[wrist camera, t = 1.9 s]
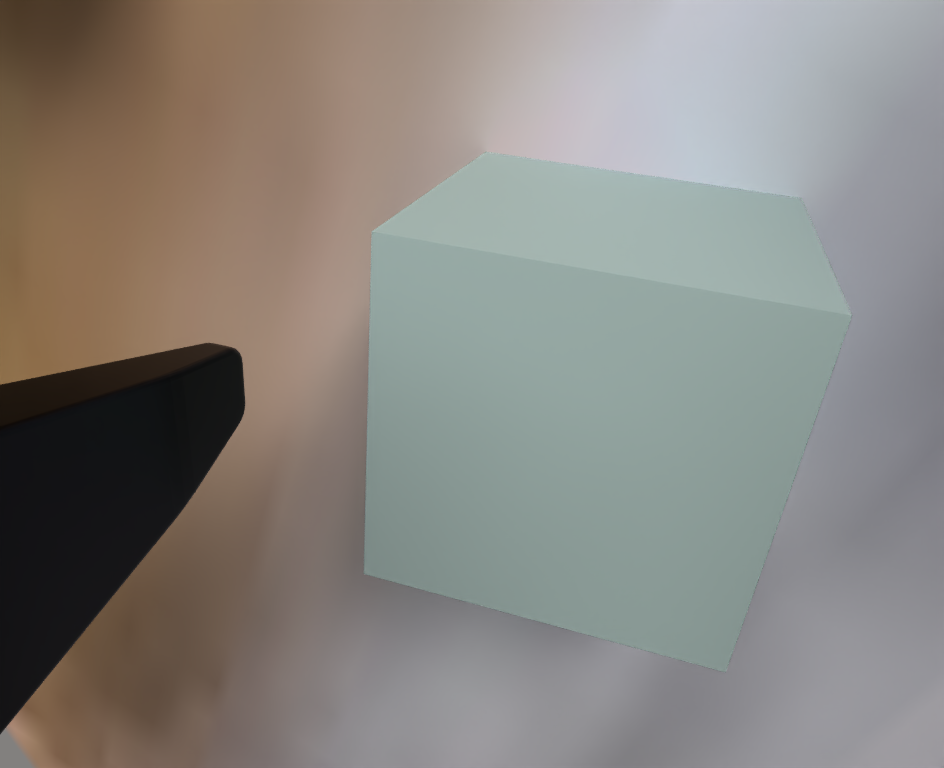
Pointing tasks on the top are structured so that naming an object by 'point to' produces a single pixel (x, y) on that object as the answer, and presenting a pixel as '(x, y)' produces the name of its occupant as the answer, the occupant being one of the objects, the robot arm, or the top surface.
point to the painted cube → (593, 396)
